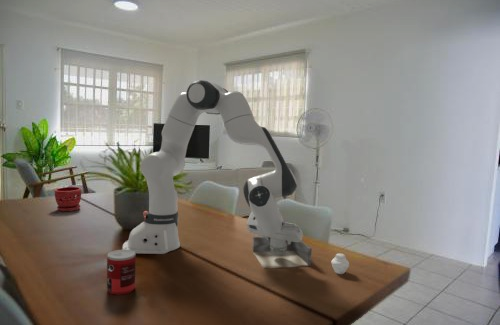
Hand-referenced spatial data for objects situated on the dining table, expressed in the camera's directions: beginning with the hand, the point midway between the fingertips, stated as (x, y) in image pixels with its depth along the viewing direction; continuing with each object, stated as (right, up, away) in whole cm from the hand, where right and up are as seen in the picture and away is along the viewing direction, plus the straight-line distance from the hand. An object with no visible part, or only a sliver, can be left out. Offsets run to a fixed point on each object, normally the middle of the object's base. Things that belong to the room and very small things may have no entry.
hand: (279, 240), depth 133 cm
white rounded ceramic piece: (+21, -9, -9) cm, 24 cm away
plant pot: (-113, +3, +62) cm, 129 cm away
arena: (+1, -7, +1) cm, 8 cm away
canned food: (-50, -8, -29) cm, 58 cm away
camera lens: (0, -5, 0) cm, 5 cm away
